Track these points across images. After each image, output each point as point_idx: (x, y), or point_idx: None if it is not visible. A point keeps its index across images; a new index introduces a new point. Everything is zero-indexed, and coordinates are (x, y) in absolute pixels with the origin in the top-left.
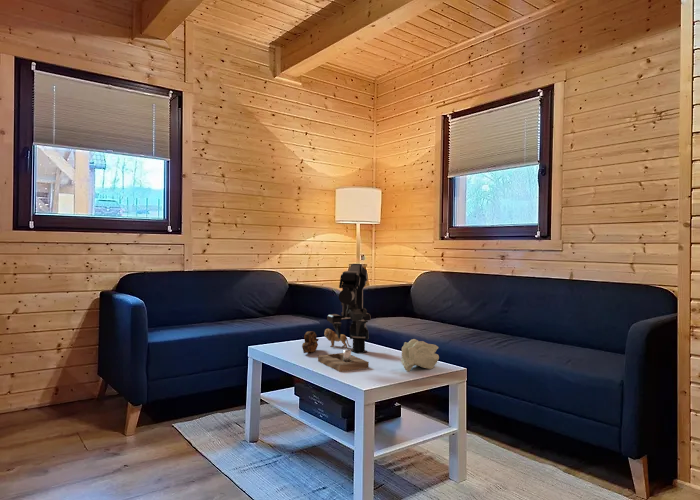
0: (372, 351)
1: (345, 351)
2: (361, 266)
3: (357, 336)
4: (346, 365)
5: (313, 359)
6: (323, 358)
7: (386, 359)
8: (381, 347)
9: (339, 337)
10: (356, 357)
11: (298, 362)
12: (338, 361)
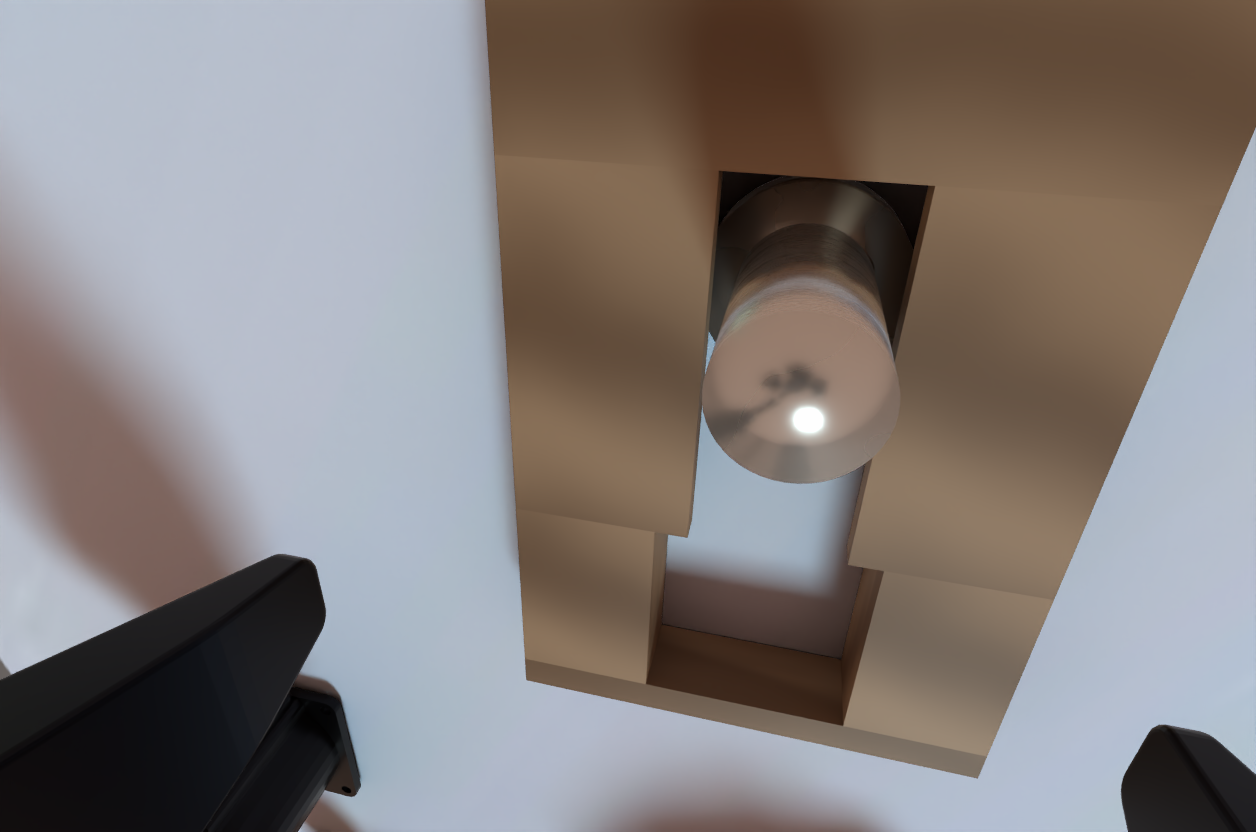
0: None
1: (891, 354)
2: None
3: (319, 590)
4: None
5: (940, 783)
6: (1031, 640)
7: (90, 321)
8: None
9: (1237, 761)
10: (522, 399)
11: None
12: (1009, 327)
